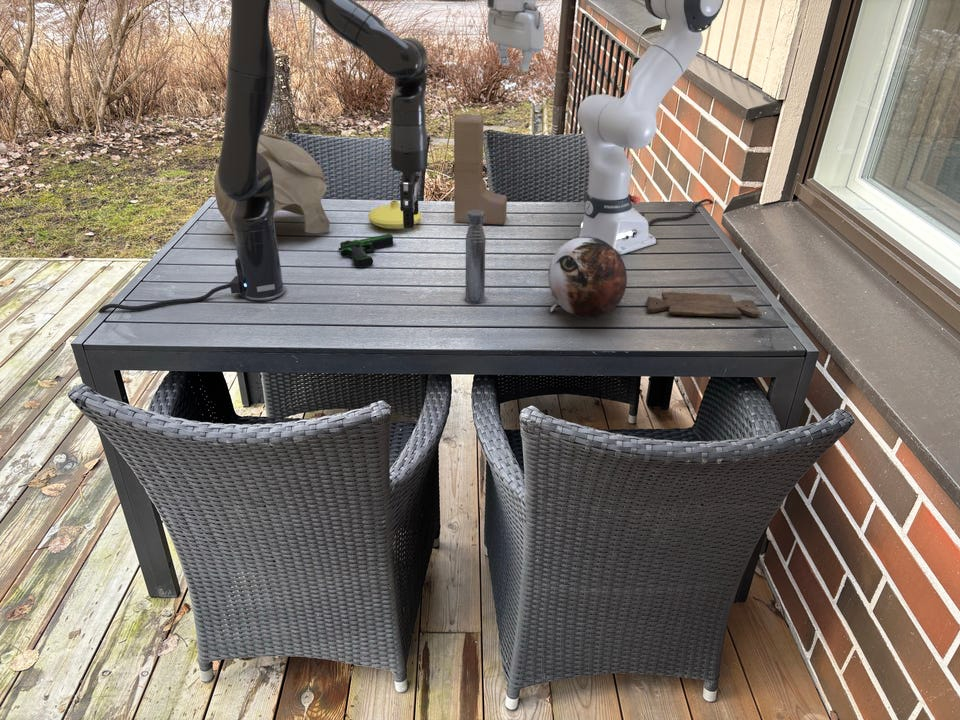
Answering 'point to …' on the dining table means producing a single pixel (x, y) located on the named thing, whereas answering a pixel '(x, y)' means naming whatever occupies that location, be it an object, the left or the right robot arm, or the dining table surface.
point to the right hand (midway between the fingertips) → (513, 68)
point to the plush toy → (587, 277)
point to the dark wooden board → (702, 305)
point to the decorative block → (473, 173)
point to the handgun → (364, 249)
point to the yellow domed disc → (390, 216)
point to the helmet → (288, 183)
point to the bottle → (475, 264)
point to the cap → (475, 217)
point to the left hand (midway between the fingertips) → (411, 220)
